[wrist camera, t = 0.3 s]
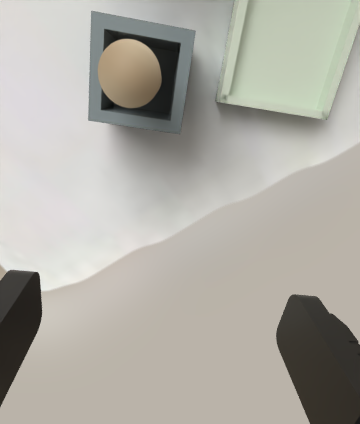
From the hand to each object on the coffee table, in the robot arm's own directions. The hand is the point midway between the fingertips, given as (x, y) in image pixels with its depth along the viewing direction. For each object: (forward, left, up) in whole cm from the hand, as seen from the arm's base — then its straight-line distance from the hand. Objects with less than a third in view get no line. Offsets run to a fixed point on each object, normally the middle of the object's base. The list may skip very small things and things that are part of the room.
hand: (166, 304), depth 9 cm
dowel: (-7, -3, -26) cm, 27 cm away
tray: (-14, +11, -27) cm, 32 cm away
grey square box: (-7, -3, -27) cm, 28 cm away
